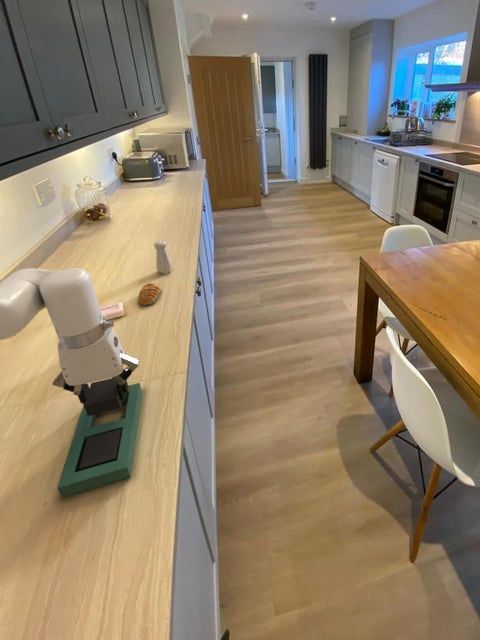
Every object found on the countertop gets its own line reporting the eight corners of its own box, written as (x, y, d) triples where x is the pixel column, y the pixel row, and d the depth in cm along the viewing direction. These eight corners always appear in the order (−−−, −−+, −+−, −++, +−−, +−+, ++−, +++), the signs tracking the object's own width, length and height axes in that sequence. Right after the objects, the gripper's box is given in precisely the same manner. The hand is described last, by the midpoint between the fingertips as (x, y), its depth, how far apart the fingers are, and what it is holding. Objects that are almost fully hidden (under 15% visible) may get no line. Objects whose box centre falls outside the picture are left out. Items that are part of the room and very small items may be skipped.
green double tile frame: (62, 498, 57) (56, 488, 56) (90, 404, 74) (86, 394, 73) (130, 477, 60) (127, 467, 59) (142, 391, 77) (139, 382, 76)
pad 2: (83, 478, 60) (78, 468, 59) (91, 447, 65) (87, 438, 64) (119, 467, 62) (115, 458, 60) (124, 438, 67) (120, 429, 65)
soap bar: (124, 316, 104) (122, 309, 103) (91, 325, 99) (89, 318, 98) (123, 307, 108) (121, 301, 107) (91, 315, 104) (89, 309, 103)
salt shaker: (159, 276, 126) (153, 246, 121) (155, 270, 130) (149, 241, 125) (174, 272, 129) (169, 242, 124) (170, 266, 134) (165, 237, 128)
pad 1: (87, 416, 65) (83, 405, 64) (94, 392, 71) (91, 382, 69) (120, 408, 67) (117, 397, 66) (125, 385, 72) (122, 375, 71)
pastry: (158, 304, 109) (156, 295, 108) (136, 308, 108) (134, 298, 106) (161, 290, 118) (159, 281, 116) (141, 293, 116) (138, 283, 114)
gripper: (135, 310, 67) (151, 375, 74) (37, 328, 62) (65, 395, 69) (130, 334, 60) (148, 401, 68) (19, 355, 55) (53, 426, 63)
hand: (106, 397), depth 68 cm, fingers closed on pad 1, 6 cm apart
